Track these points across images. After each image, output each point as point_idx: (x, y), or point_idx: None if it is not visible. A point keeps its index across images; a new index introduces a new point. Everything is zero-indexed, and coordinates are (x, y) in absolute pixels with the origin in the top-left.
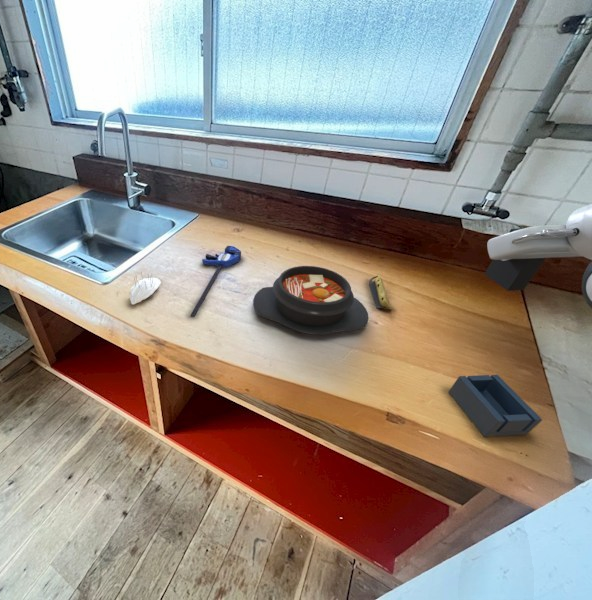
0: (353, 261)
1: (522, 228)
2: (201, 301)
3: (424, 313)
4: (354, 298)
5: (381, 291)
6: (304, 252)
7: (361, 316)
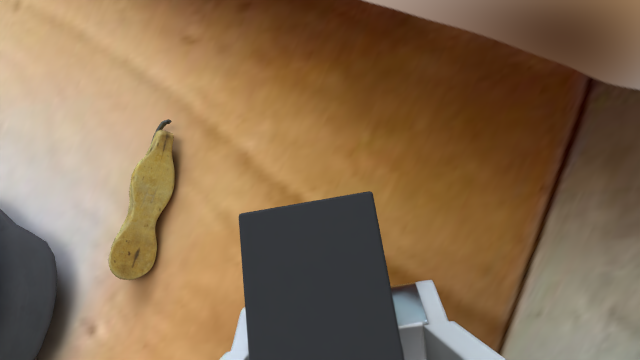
0: (161, 36)
1: (327, 203)
2: None
3: (237, 273)
4: (43, 253)
5: (131, 209)
6: (54, 11)
7: (20, 344)
